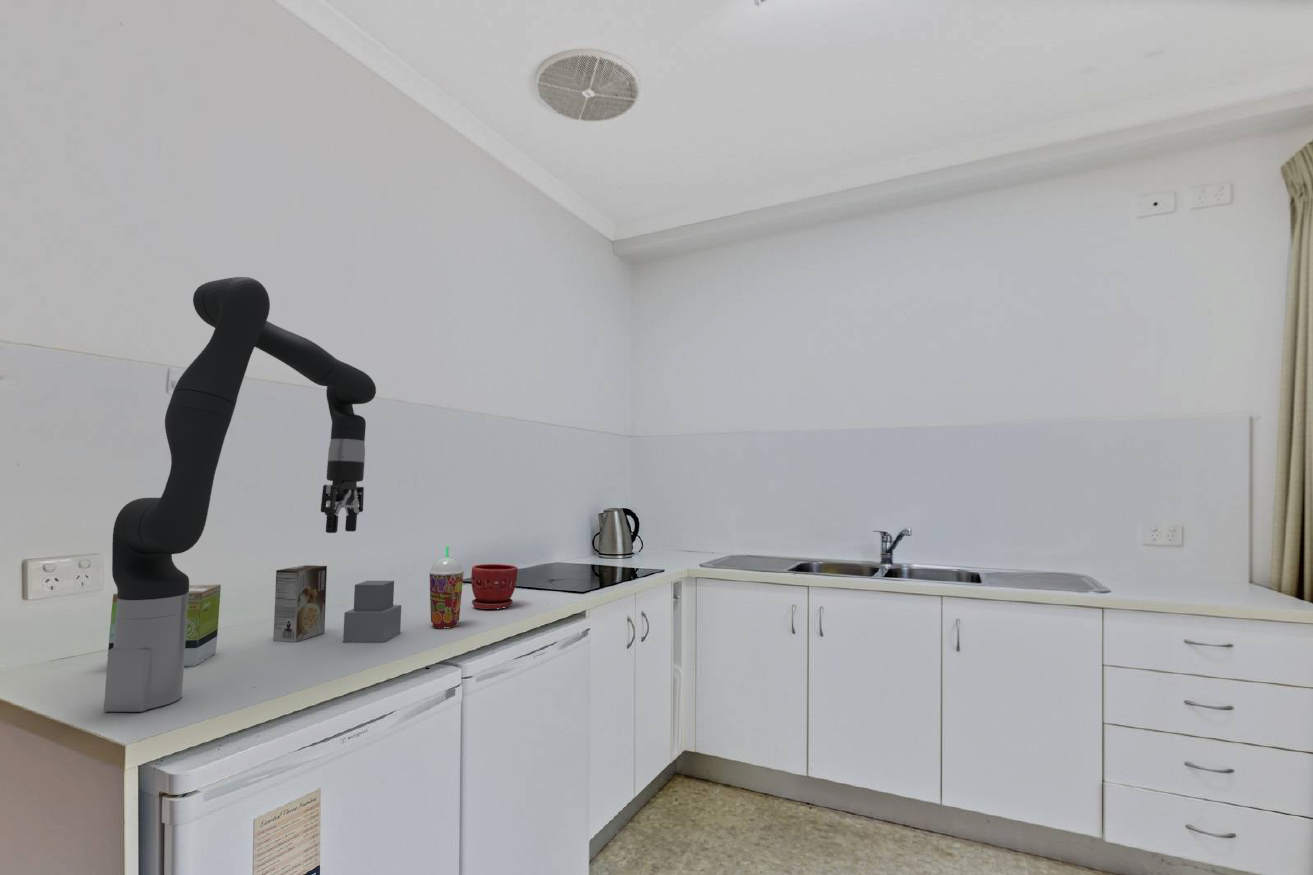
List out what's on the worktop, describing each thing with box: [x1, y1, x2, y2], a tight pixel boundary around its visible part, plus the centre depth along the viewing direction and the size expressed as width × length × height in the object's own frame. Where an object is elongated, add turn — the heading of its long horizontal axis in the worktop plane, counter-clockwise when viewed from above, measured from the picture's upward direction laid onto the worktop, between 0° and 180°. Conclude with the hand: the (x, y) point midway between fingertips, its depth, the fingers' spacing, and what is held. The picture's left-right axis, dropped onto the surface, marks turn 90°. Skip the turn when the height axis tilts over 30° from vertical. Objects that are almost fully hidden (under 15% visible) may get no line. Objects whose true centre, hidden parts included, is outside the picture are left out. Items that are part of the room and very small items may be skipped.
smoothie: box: [428, 545, 465, 629], centre depth 158 cm, size 8×8×20 cm
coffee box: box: [272, 564, 328, 643], centre depth 146 cm, size 9×6×16 cm
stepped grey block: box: [342, 580, 402, 643], centre depth 146 cm, size 9×9×13 cm
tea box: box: [107, 584, 222, 668], centre depth 125 cm, size 15×10×15 cm, turn 105°
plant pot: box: [470, 563, 518, 610], centre depth 183 cm, size 13×13×12 cm
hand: (341, 532), depth 140 cm, fingers open, 8 cm apart
